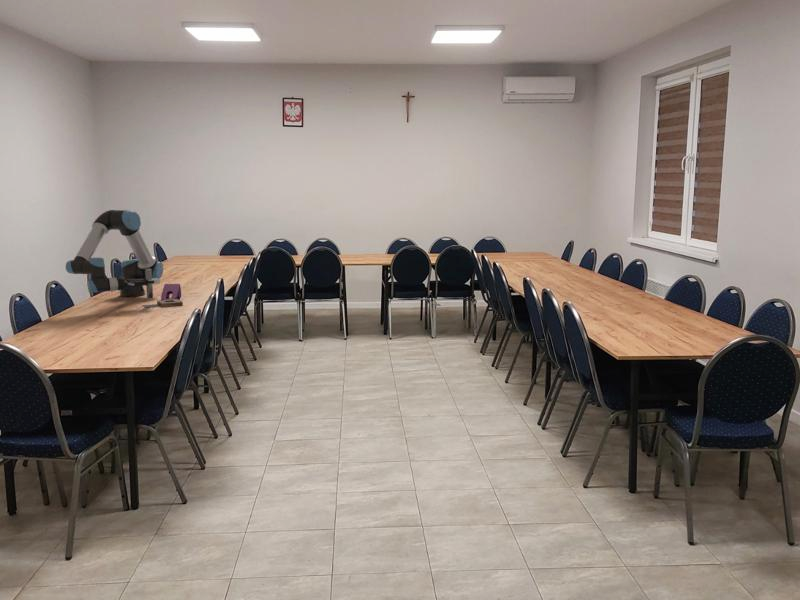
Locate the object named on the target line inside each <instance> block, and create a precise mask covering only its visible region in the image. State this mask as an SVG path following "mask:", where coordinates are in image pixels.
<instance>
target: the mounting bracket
mask: <svg viewBox="0 0 800 600" xmlns="http://www.w3.org/2000/svg"><path fill="white" fill-rule="evenodd" d="M170 296H171V297H170ZM180 298H181V299H182V289H181V283H164V285H163V288H162V292H161V295H160V300H172V299H178V300H181V299H180Z"/></svg>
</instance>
